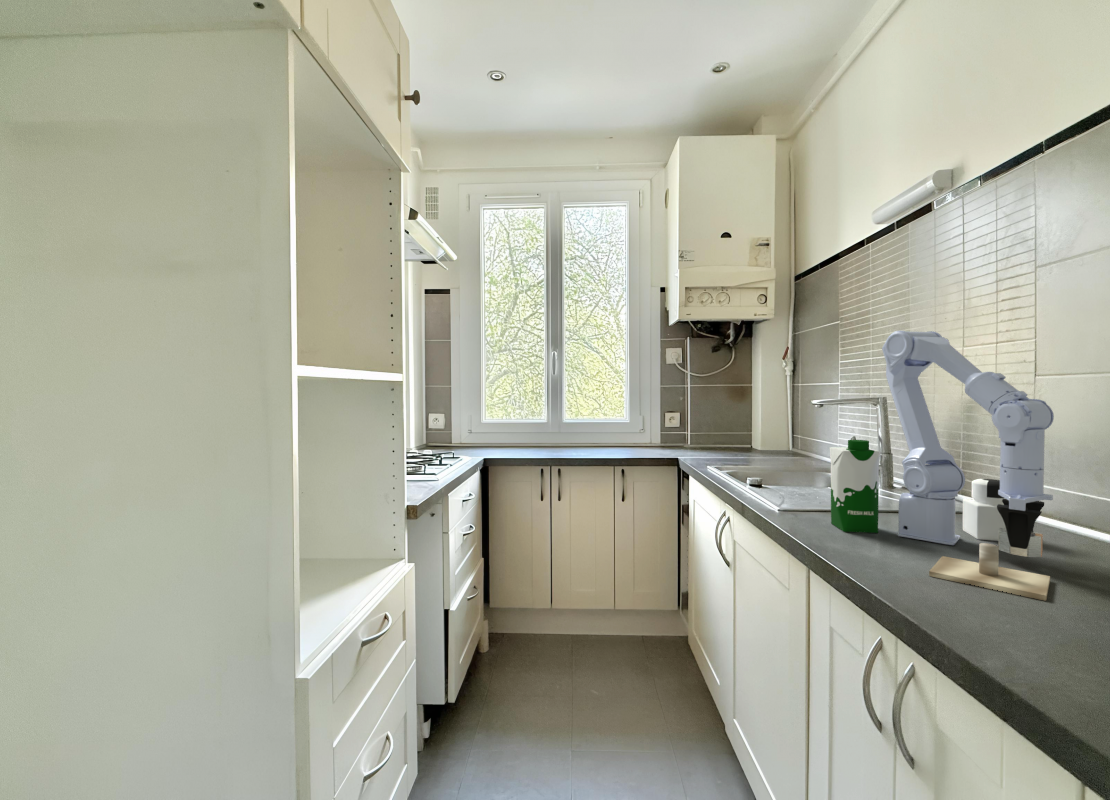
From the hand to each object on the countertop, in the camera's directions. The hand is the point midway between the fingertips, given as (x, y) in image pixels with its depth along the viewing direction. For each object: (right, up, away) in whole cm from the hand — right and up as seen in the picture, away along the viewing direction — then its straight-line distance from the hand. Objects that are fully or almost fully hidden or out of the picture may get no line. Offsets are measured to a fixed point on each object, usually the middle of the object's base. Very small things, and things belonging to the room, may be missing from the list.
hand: (1020, 543), depth 89 cm
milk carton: (-16, -4, +24) cm, 29 cm away
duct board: (-12, -4, -7) cm, 14 cm away
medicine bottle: (+9, -4, +17) cm, 19 cm away
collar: (0, -1, 0) cm, 1 cm away
